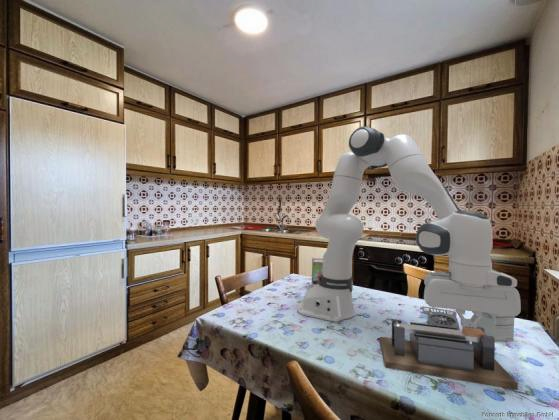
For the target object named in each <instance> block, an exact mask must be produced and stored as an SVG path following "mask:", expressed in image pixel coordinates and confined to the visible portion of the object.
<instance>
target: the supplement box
mask: <svg viewBox="0 0 559 420" xmlns="http://www.w3.org/2000/svg"><path fill="white" fill-rule="evenodd" d="M477 327H483V328H484V329H485V334H486V335H487V336H493V337H494V338H495V342H508V341H509V342H511V341H514V338H515V337H514V335H515V334H514V333H515V316H509V315H500V314H491V313H483V312H482V317H481V319H480V320H479V321H478V322H477Z"/></svg>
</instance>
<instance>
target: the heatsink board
mask: <svg viewBox="0 0 559 420" xmlns="http://www.w3.org/2000/svg"><path fill="white" fill-rule="evenodd" d="M395 322H399V323H402V320H401V319H396V318H391V337H386V336H379V345H380V349H381V352H382V358H383V363H384V367H385V368H389V369H394V370H399V371H405V372H409V373H410V372H411V373H416V374H423V375H428V376H429V375H430V376H435V377H439V378H440V377H442V378H448V379H453V380H457V381H458V380H459V381H465V382H469V383H470V382H471V383H475V384H476V383H477V384H482V385H486V386H495V387H499V388H507V389H512V390H517V391H518V390H519V389H518V387H519V384H518V382H517V381H516V379H514V378H513V377H512V375H511V374H510V373H509V372H508V371H507V370H506V369H505V368H504V367H503V366H502V365H501V364H500V363H499V362H498V361H497V360H496V358H495V356H496V354H495V353H496V352H495V349H496V347H495V345H496V343H495V342H496V341H495V338H494V337H493V336H485V335H481V343H480V342H472V341H469V340H461V339H454V338H446V337H438V336H431V335H423V334H412V333H409V340H408V339H406V338H405V337H406V333H405V328H404V327H398V326H395V327H394V323H395ZM409 324H413V325H421V326H429V327H437V328H445V329H453V330H458V328H457V327H448V326H440V325H431V324H428V323H422V322H413V321H409ZM476 329H481V330H482V331H483V332H484V333H485V329H484V328H483V327H477V328H476Z"/></svg>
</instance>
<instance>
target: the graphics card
mask: <svg viewBox="0 0 559 420" xmlns="http://www.w3.org/2000/svg"><path fill="white" fill-rule="evenodd" d="M419 309H420V310H422V311H419V314H421V313H422V314H423V315H426V314H427V315H426V316H427V321H428V322H427V324H431V325H440V326H448V327H457V328H458V330H461V329H460V325H459V320H458V318H457V312H456V310H455V311H454V310H451V309H445V308H438V307H430V306H424V305H422V306H419ZM425 309H426V310H425Z"/></svg>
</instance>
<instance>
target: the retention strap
mask: <svg viewBox="0 0 559 420" xmlns="http://www.w3.org/2000/svg"><path fill="white" fill-rule="evenodd" d="M395 326H398V327H404V328H405V334H410V333H412V334H423V335H431V336H438V337H446V338H454V339H461V340H469V341H470V342H471V343H472V342H480V343H481V335H485V336H487V335H486V334H485V333H484V332H483V331H482V330H481V329H475V328H467V327H462V326H461V329H460V330H453V329H445V328H437V327H429V326H421V325H413V324H410V323H403V322H401V323H399V322H395V323H394V327H395Z"/></svg>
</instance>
